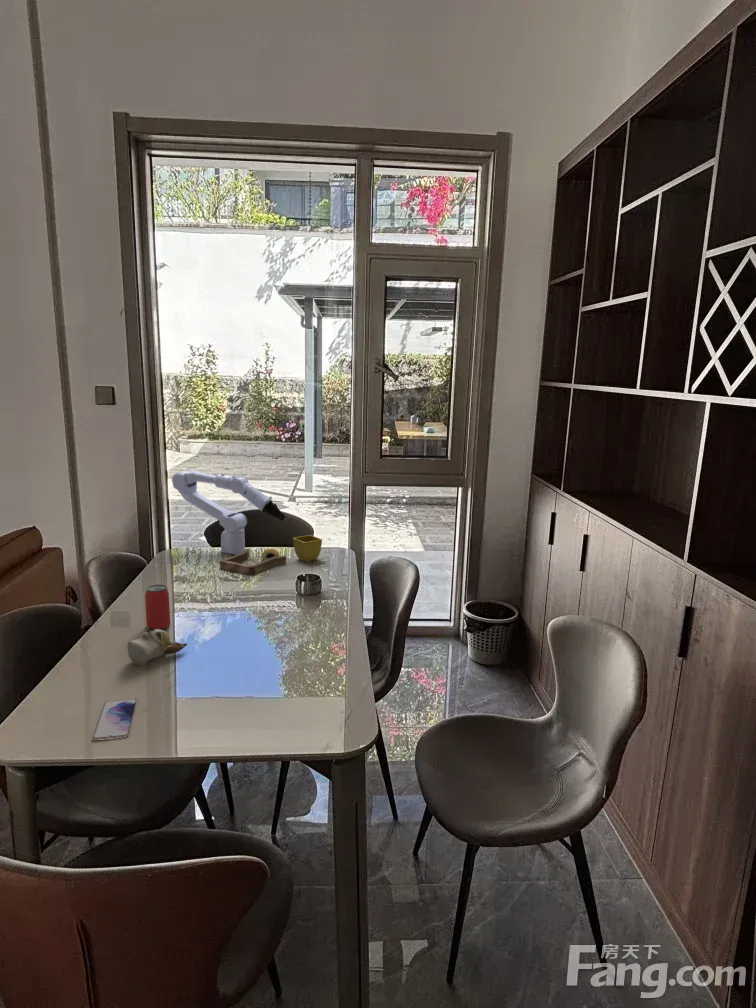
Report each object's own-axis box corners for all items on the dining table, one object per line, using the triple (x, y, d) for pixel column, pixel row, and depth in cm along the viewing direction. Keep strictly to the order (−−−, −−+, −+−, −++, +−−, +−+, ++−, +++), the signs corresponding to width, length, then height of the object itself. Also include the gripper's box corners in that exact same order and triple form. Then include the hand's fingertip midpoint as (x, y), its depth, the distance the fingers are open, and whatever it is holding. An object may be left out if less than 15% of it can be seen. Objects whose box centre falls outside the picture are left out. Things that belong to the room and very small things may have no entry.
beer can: (162, 631, 175) (160, 592, 173) (142, 629, 177) (139, 590, 174) (174, 622, 182) (172, 584, 179) (154, 620, 183) (152, 583, 180)
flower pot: (310, 555, 252) (310, 534, 250) (322, 560, 245) (322, 539, 243) (292, 559, 246) (292, 537, 244) (304, 564, 240) (304, 542, 238)
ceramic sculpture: (114, 630, 155) (161, 615, 167) (114, 662, 156) (161, 644, 169) (142, 640, 149) (189, 623, 162) (142, 674, 151) (189, 654, 164)
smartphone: (137, 698, 139) (128, 735, 125) (138, 701, 139) (128, 739, 125) (104, 701, 137) (91, 739, 123) (104, 704, 137) (91, 743, 123)
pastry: (263, 554, 253) (263, 545, 252) (280, 554, 253) (280, 545, 253) (261, 561, 244) (261, 551, 243) (278, 561, 244) (278, 551, 243)
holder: (215, 567, 234) (215, 560, 233) (246, 555, 250) (246, 548, 249) (257, 576, 224) (257, 568, 224) (287, 563, 240) (286, 556, 240)
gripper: (258, 487, 241) (285, 507, 239) (266, 492, 255) (291, 512, 254) (247, 501, 240) (274, 521, 239) (255, 506, 254) (280, 525, 253)
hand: (282, 517), depth 246 cm, fingers open, 7 cm apart
